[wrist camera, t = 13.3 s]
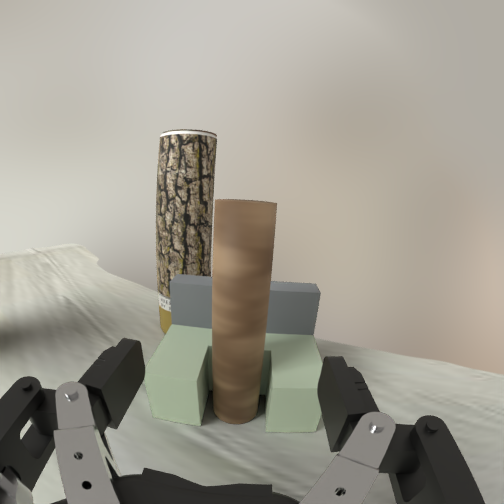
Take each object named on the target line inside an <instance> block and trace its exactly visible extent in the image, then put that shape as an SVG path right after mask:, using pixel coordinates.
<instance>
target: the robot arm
mask: <svg viewBox="0 0 504 504" xmlns="http://www.w3.org/2000/svg"><path fill="white" fill-rule="evenodd" d="M144 377H145V364H144V359H143V353H142V347H141V343H140V341H137V340H132V339H127V338H123V339H122V340H121V341H120V342H119V343H118V345H117V346H116V347H113V346H112V347H110V348H109V349H107V350H105V351H103V353H102V354H101V355H100V356H99V357H98V359H97V360H96V361H95V362H94V364H92V365H91V367H90V368H89V369H88V370H87V371H86V372H85V374H84V375H83V376H82V377H81V378H80V380H79V381H78V382H67V383H64V384H62V385H61V386H60V387H58V389H57V390H52V389H44V388H42V386H41V384H40V382H39V380H38V379H36V378H35V377H31V376H27V377H23V378H20V379H19V380H17V381H16V382H15V383H14V384H13V385H12V387H11V388H10V389H9V390H8V391H7V392H6V393H5V394H4V395H3V397H2V398H1V399H0V504H34V503H33V496H32V493H31V492H32V490H33V488H34V486H35V484H36V482H37V480H38V478H39V476H40V474H41V472H42V471H43V469H44V467H45V465H46V463H47V461H48V460H49V458H50V456H51V454H52V452H53V451H54V449H55V447H56V453H57V459H58V464H59V469H60V474H61V479H62V483H63V487H64V491H65V495H66V499H63V500H60V501H57V502H54V503H51V504H362V503H363V501H364V499H365V497H366V496H367V494H368V492H369V490H370V488H371V487H372V485H373V483H374V481H375V479H376V477H377V475H378V473H388V474H389V477H390V481H391V484H392V488H393V492H394V496H395V499H396V503H397V504H485V502H484V500H483V498H482V495H481V493H480V491H479V489H478V486H477V484H476V482H475V480H474V478H473V476H472V474H471V472H470V469H469V467H468V465H467V463H466V461H465V459H464V457H463V456H462V454H461V452H460V450H459V448H458V446H457V444H456V442H455V440H454V439H453V437H452V435H451V433H450V431H449V429H448V428H447V426H446V424H445V423H444V421H443V420H441V419H440V418H438V417H436V416H431V415H427V416H423V417H421V418H419V419H418V420H417V422H416V424H415V425H404V424H395V422H394V420H393V419H392V418H391V417H390V416H389V415H387V414H385V413H381V412H379V410H378V407H377V405H376V403H375V401H374V399H373V397H372V395H371V393H370V391H369V390H368V387H367V384H366V383H365V380H364V378H363V376H362V374H361V373H360V372H359V371H357V370H356V369H355V368H354V367H347V364H346V362H345V360H344V358H343V357H342V356H338V357H325V358H324V361H323V365H322V369H321V373H320V377H319V381H318V386H317V395H318V400H319V404H320V408H321V412H322V416H323V420H324V425H325V429H326V433H327V437H328V442H329V446H330V450H331V452H338V451H340V453H339V454H337V455H336V457H335V458H334V459H333V461H332V462H331V464H330V465H329V466H328V468H327V469H326V471H325V472H324V473H323V475H322V476H321V477H320V479H319V480H318V481H317V482H316V484H315V485H314V486H313V488H312V489H311V490H310V491H309V492H308V494H307V495H306V496H305V497H304V498H303V500H302V501H301V502H299V501H297V500H295V499H293V498H291V497H289V496H286V495H283V494H280V493H276V492H272V485H261V484H231V485H221V486H202V485H199V484H196V483H194V482H191V481H188V480H186V479H183V478H181V477H178V476H176V475H173V474H169V473H164V472H160V471H156V470H152V469H148V468H144V470H143V473H142V474H134V475H124V476H122V475H121V473H120V471H119V469H118V467H117V464H116V462H115V459H114V457H113V454H112V451H111V448H110V445H109V442H108V439H107V436H106V434H105V430H106V428H107V427H110V428H114V429H117V428H118V426H119V424H120V422H121V421H122V419H123V417H124V415H125V413H126V411H127V409H128V408H129V406H130V404H131V402H132V400H133V399H134V397H135V395H136V393H137V391H138V390H139V388H140V386H141V384H142V382H143V380H144ZM29 419H30V421H31V423H32V425H31V426H30V428H29V429H28V430H27V432H26V433H25V435H24V436H23V438H22V439H20V432H21V430H22V428H23V427H24V426H25V424H26V423H27V422H28V420H29Z"/></svg>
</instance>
